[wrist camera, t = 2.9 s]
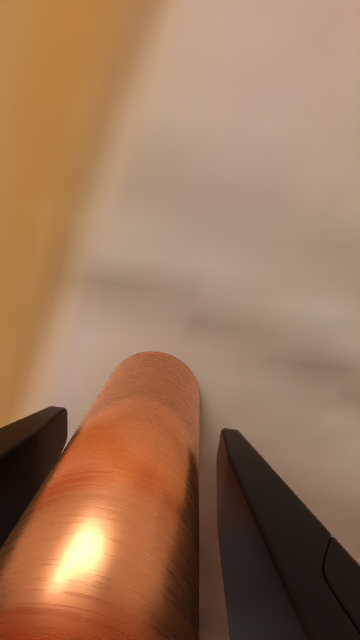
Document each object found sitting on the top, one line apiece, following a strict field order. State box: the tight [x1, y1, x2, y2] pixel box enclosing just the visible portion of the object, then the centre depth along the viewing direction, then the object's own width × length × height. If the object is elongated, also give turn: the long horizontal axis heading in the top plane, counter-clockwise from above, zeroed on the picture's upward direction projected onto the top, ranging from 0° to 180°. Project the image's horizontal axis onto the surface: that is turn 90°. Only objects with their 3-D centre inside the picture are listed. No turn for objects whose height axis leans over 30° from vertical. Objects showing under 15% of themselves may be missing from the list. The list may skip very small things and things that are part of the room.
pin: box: [0, 352, 199, 640], centre depth 6 cm, size 5×5×8 cm
